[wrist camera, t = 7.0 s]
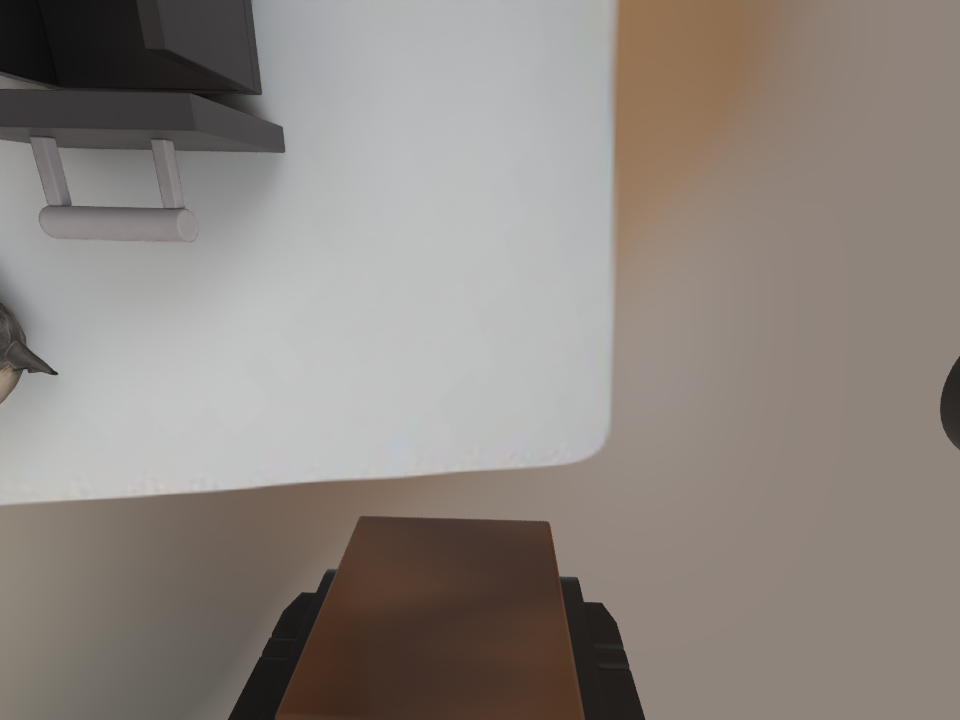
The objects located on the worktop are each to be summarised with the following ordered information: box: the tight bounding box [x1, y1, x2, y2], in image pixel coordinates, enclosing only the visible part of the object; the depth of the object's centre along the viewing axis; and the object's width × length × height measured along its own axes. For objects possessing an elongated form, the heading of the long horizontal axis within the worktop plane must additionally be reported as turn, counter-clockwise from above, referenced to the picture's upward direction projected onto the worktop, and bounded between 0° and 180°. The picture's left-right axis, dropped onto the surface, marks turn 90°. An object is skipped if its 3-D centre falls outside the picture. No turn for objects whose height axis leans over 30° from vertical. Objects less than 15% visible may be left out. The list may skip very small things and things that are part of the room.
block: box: [275, 516, 585, 720], centre depth 9 cm, size 4×4×4 cm
